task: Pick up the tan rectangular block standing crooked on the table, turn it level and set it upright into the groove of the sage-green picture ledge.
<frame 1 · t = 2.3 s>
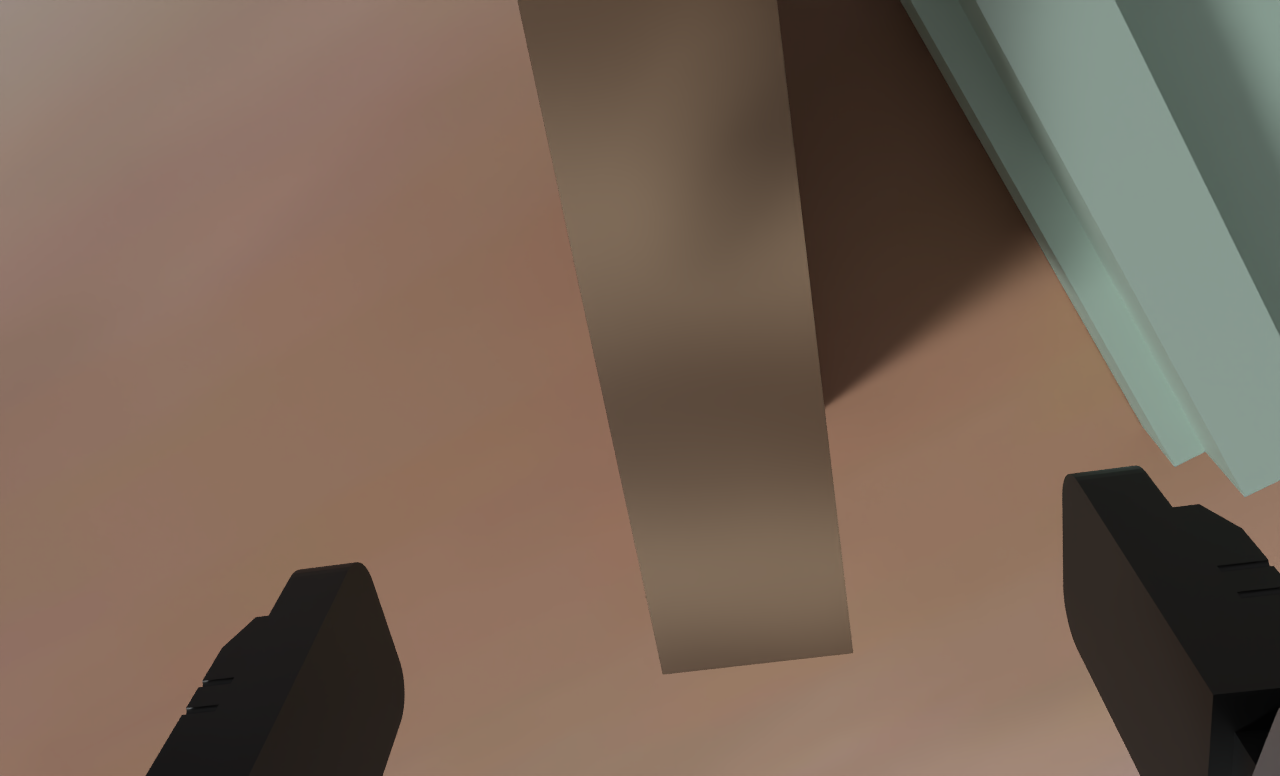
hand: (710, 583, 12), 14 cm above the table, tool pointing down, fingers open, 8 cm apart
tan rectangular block: (701, 206, 25), on the table
picture ledge: (1227, 77, 24), on the table
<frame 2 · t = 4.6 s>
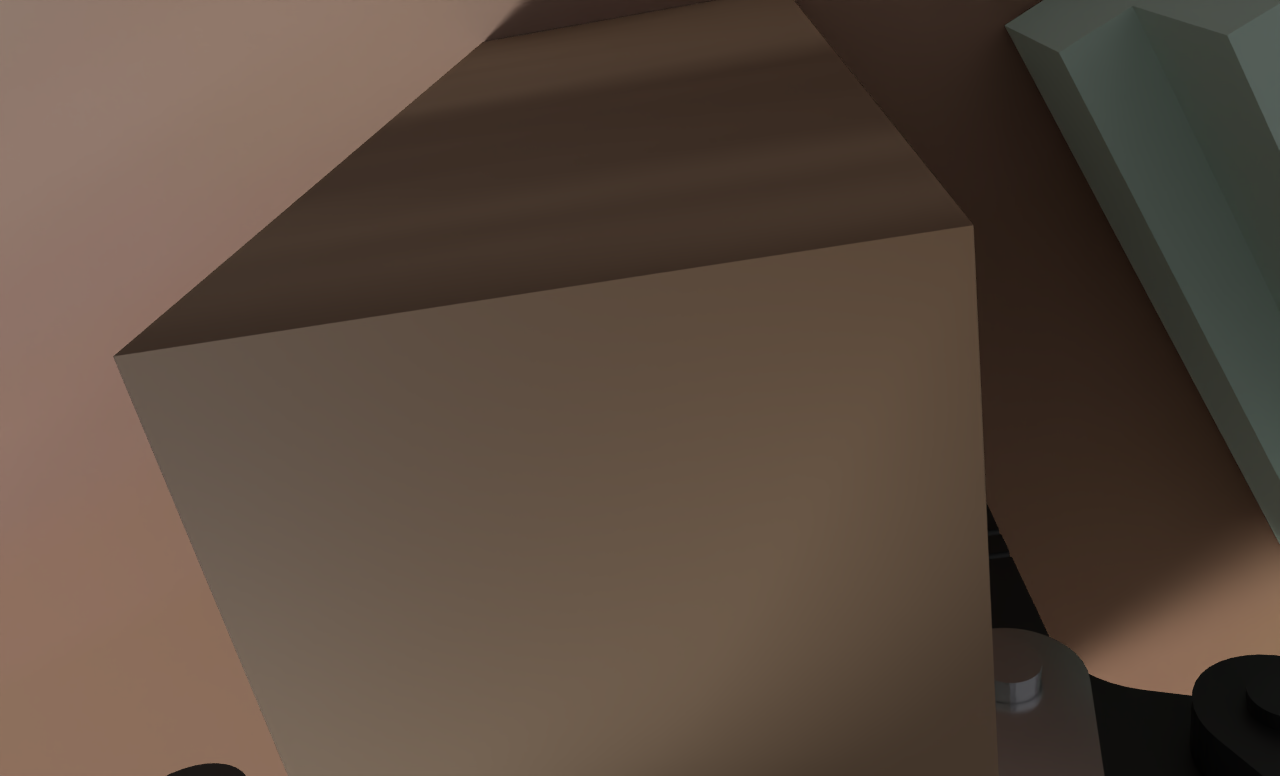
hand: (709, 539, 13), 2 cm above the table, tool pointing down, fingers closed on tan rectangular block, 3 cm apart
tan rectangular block: (707, 466, 15), on the table, touching gripper
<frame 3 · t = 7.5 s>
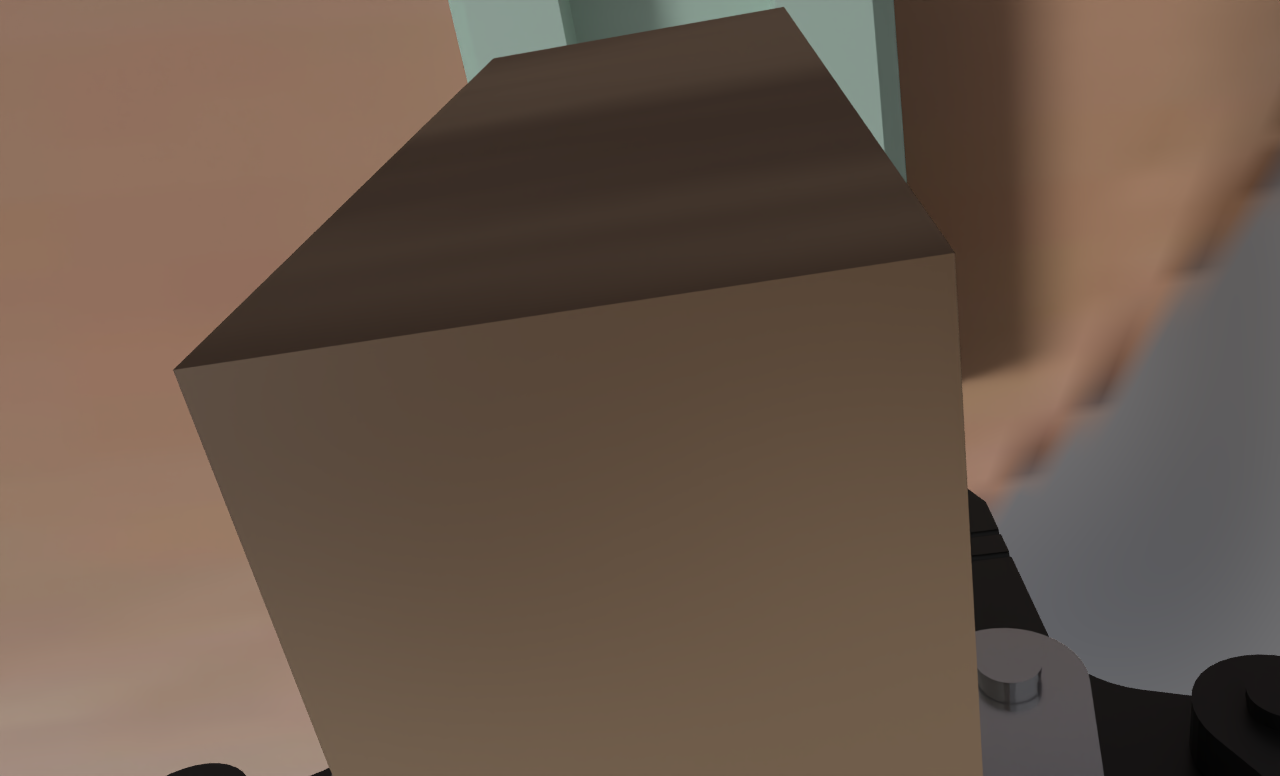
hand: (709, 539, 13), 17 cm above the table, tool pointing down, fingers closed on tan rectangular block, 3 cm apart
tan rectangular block: (710, 468, 15), point 15 cm above the table, touching gripper
picture ledge: (700, 183, 29), on the table
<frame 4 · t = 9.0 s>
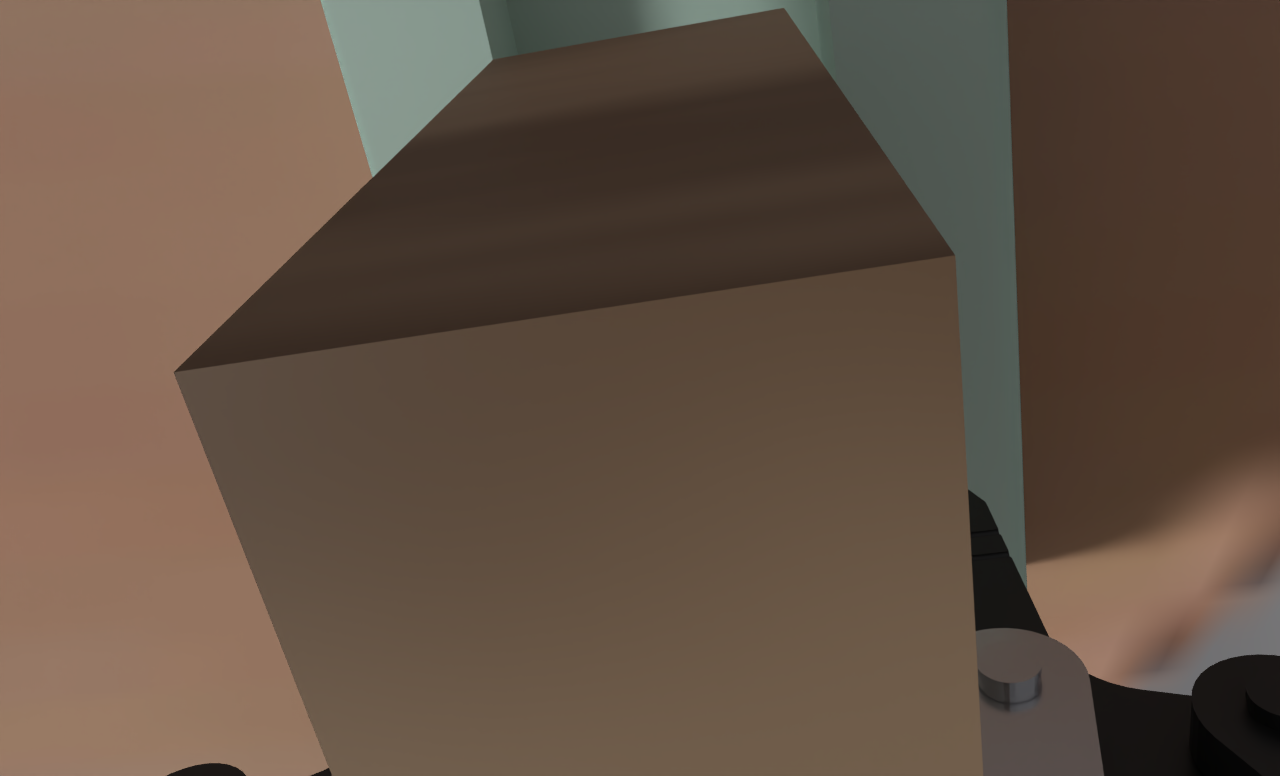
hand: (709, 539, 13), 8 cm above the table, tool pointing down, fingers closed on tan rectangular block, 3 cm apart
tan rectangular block: (710, 469, 15), point 6 cm above the table, touching gripper
picture ledge: (713, 297, 20), on the table
when the fingers open (5 cm above the table, at t = 10.4 s): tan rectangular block stays where it is, resting on picture ledge.
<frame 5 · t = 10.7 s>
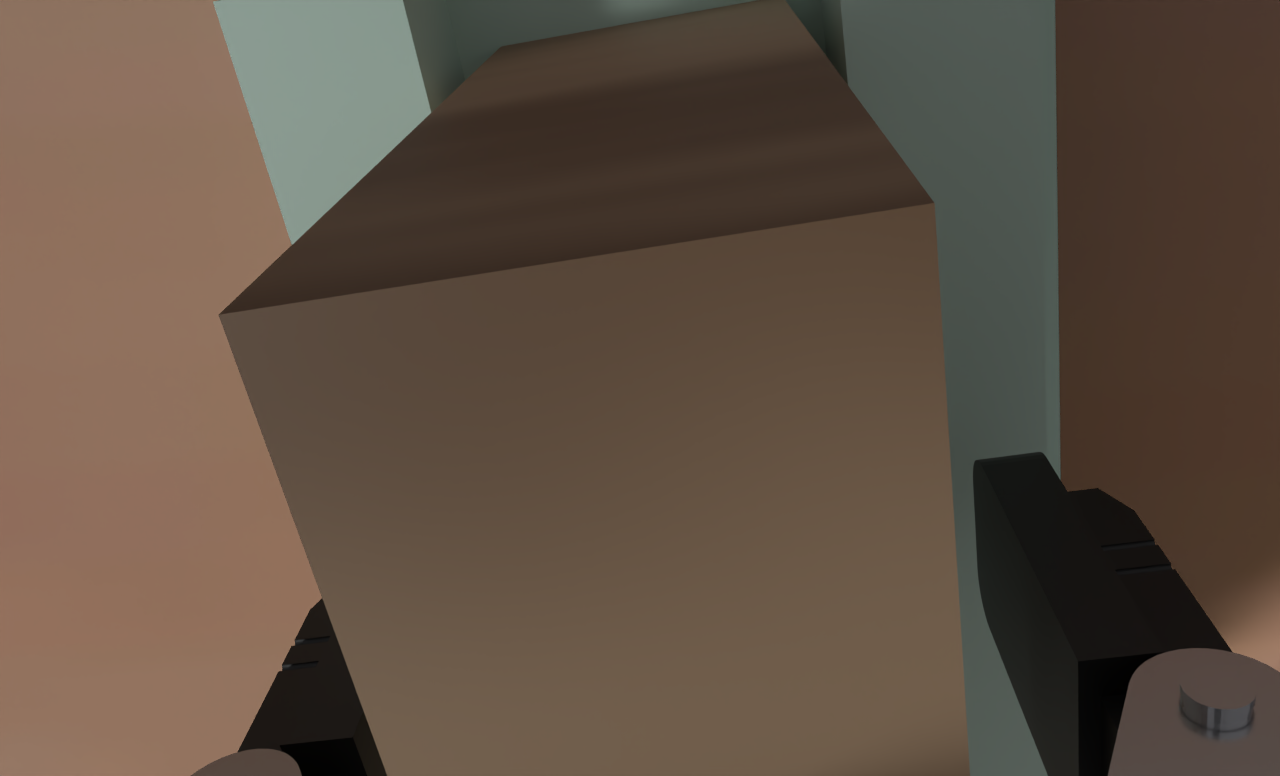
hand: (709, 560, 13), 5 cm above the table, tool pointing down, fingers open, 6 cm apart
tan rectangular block: (710, 446, 16), point 2 cm above the table, touching picture ledge
picture ledge: (703, 378, 18), on the table
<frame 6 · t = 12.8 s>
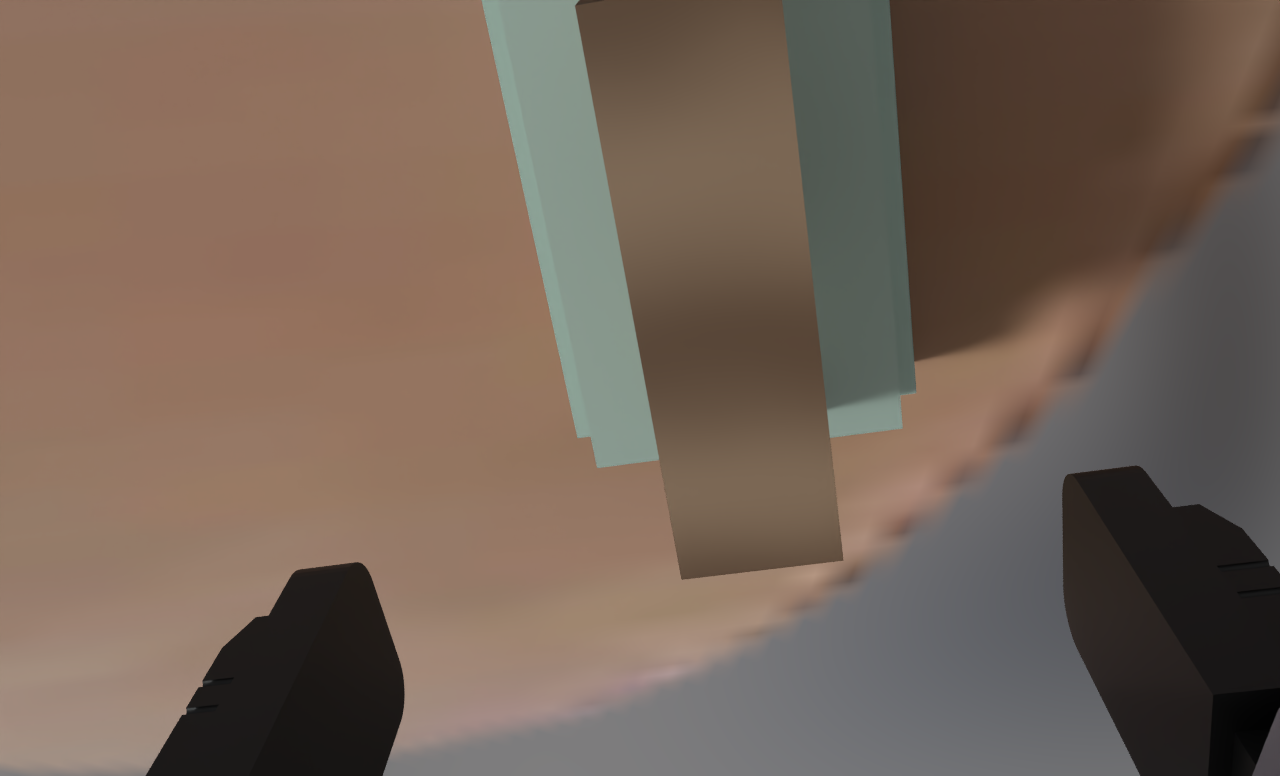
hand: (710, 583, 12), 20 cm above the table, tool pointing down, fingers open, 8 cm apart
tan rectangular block: (713, 190, 29), point 2 cm above the table, touching picture ledge
picture ledge: (709, 166, 31), on the table
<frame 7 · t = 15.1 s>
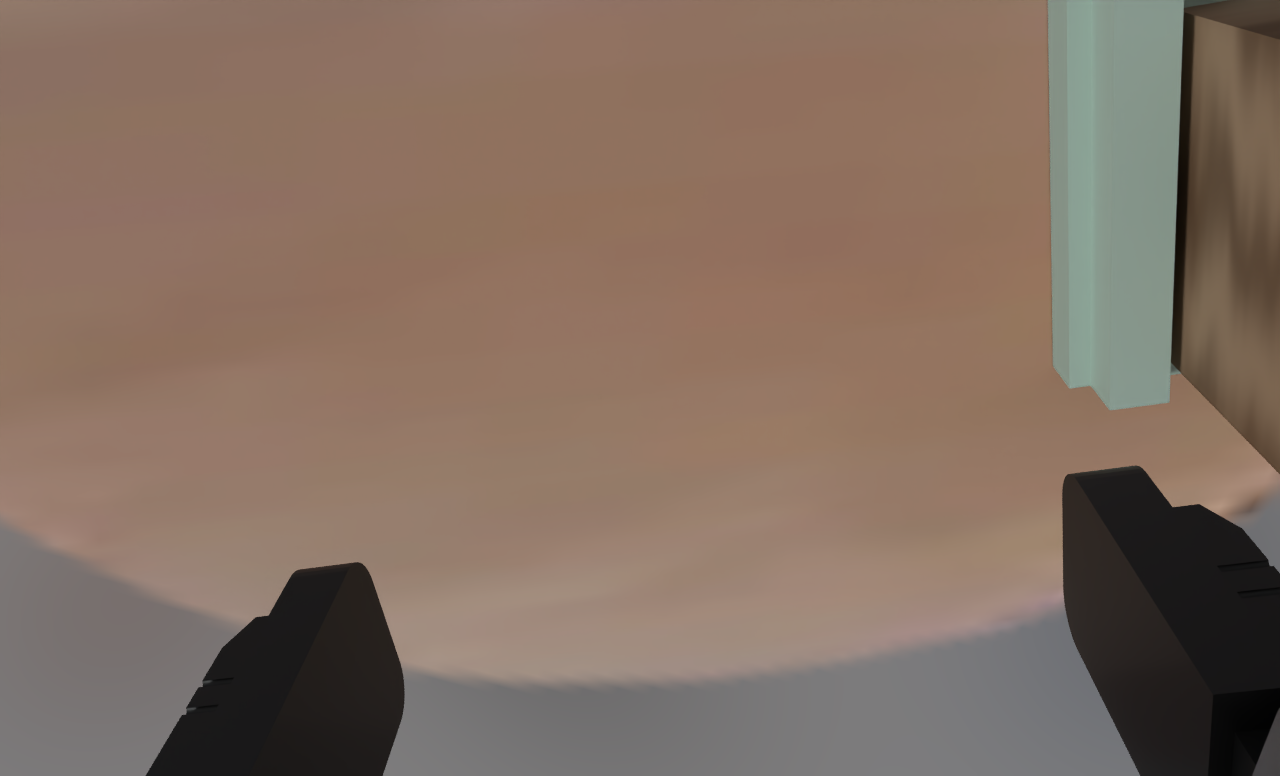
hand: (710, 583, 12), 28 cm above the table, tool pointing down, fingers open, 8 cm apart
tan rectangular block: (1223, 186, 36), point 2 cm above the table, touching picture ledge
picture ledge: (1196, 166, 38), on the table
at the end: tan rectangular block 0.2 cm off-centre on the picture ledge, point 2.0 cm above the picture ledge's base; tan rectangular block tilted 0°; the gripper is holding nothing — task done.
